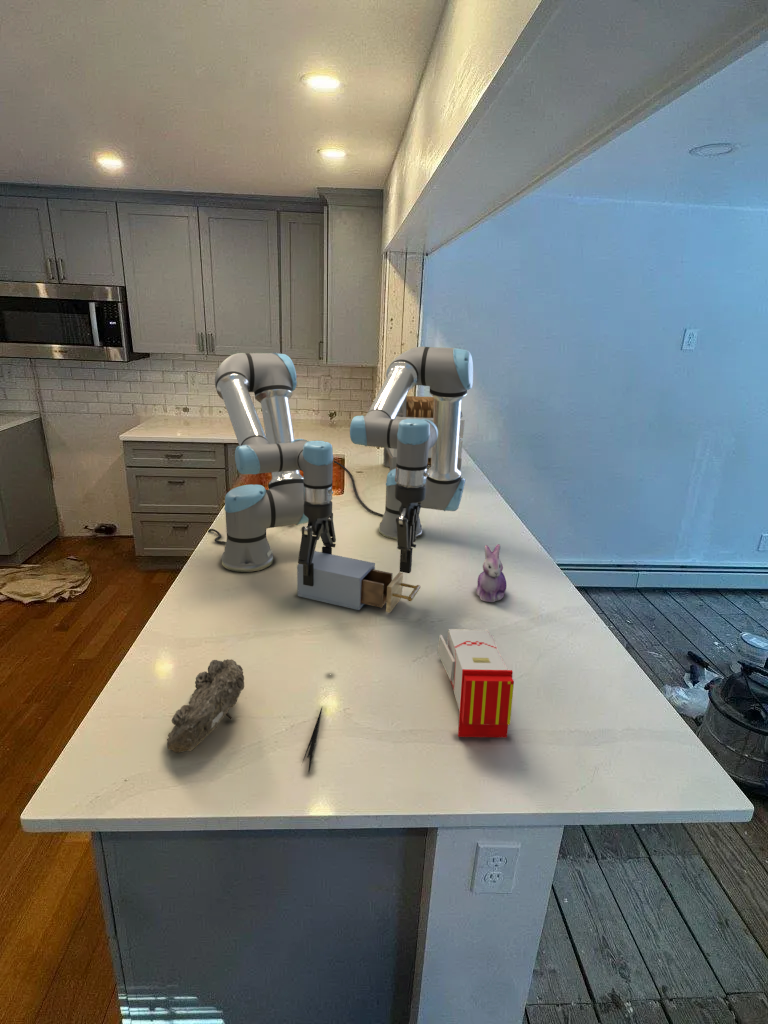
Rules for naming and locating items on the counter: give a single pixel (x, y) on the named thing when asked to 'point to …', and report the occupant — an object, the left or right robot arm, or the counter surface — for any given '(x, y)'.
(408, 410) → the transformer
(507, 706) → the toy
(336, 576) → the cabinet
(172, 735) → the fossil
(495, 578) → the figurine
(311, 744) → the feather
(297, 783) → the counter surface
